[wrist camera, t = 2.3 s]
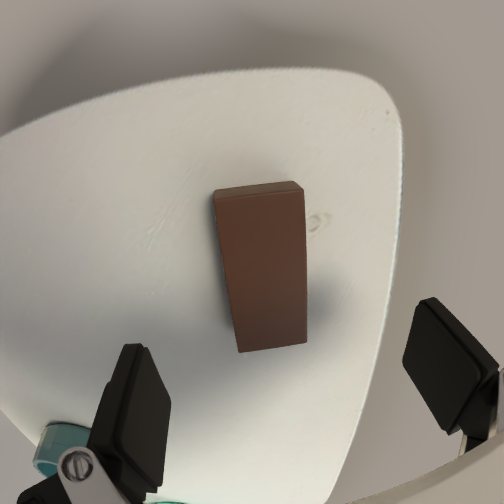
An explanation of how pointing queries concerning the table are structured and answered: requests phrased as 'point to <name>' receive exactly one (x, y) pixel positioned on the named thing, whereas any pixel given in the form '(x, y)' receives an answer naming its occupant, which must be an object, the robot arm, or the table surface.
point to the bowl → (57, 445)
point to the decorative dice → (168, 503)
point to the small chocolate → (264, 262)
